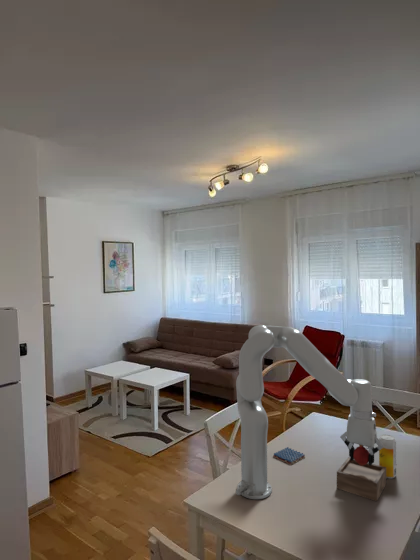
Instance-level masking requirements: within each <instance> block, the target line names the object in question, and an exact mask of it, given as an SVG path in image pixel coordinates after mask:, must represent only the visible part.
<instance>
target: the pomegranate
mask: <svg viewBox="0 0 420 560" xmlns="http://www.w3.org/2000/svg"><path fill="white" fill-rule="evenodd" d="M358 445H359V444H358ZM368 450H369V449H366V446H362V445H359V446H357V447H355V450H354V452H353V457H354V460H355V461H356V462H357V463H358V464H359V465H360V466H363V465H366V464H367V463H369V452H368Z"/></svg>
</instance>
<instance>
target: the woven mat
mask: <svg viewBox="0 0 420 560" xmlns="http://www.w3.org/2000/svg"><path fill="white" fill-rule="evenodd" d="M272 457H273V458H275V459H277V460H279V461H281V462H284V463H286V464H288V465H290V466H293V465H294V464H296V463H297V462H299V461H302V460H304V459H305V458H306V456H305V454H304V453H303V452H302V453H301V452H300V451H298V450H295V449H292V448H291V447H290V448H289V446H287V447H285V448H284V449H283V448H282V449H280V450H278V451H277V452H274V453H273V456H272Z"/></svg>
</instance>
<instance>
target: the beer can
mask: <svg viewBox="0 0 420 560" xmlns="http://www.w3.org/2000/svg"><path fill="white" fill-rule="evenodd" d="M378 439H379V441H380V442H381V443H382V444H383V445H384V447H383V448H382V449H380V450H379V451H378V465H379V466H383V467H386V479H390V480H391V479H394V478H395V477H396V476H397V441H396V438H395V437H394V436H393V435H390V434H380V436H379V438H378Z"/></svg>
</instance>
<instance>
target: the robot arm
mask: <svg viewBox="0 0 420 560" xmlns="http://www.w3.org/2000/svg"><path fill="white" fill-rule="evenodd" d="M247 338H248V339H246V341H245V342H244V343H243V344H242V346H241V348H240V350H239V355H238V373H239V374H238V375H237V377H236V381H235V389H236V401H237V412H238V415H239V419H240V422H241V423H240V426H241V433H240V453H241V455H240V456H241V459H240V460H241V461H240V462H241V465H240V466H241V471H240V472H241V480H240V482H238V484H237V486H236V487H237V489H235V494H236V496H241V497H245V498H246V499H250V500H262V499H265V498H268V497H269V496H271V495H272V489H273V488H272V487H273V486H272V485H271V483H269V481H268V430H269V417H268V414H267V412H266V410H265V408H264V407H263V405H262V397H263V396H264V391H265V384H264V378H263V377H264V376H263V358H264V356H265V355H266V353H268V352H269V351H270V350H271V349H272V348H284V349H285V350H286V351H287V353H289V354H290V356H291V357H292V358H294V359H295V361H296V362H298V364H299V365H300V366H301V367H302V368H303V369H304V370H305V372H307V373H308V374H309V375H310V376H312V378H314V379H315V380H316V381H318V382H319V383H320V384H321V385H322V386H323V387H324V388H325V389H326V390H327V391H328V393H329V395H330V396H332V398H333V399H335V400H336V401H338V403H340V404H341V405H342V406H345V407H350V408H349V409H350V411H349V412H350V413H349V414H348V418H347V423H346V431H345V432H344V433H342V434H341V435H340V439H341V440H342V441H343V442H344V444H345V446H346V447H347V449H348V456H349V457H350V460H353V459H354V457H353V452H354V450H355V449H356V447H354V446H355V444H356V445H363V447H366V446H367V448H368V449H367V450H369V452H370V453H369V462H368V463H369V465H370V466H371V465H372V464H375V454H376V453H379V450H380V449H382V448H383V447H384V445H383V444H382V443H381V442H380V441H379V438H378V435H377V434H378V433H377V432H378V431H377V425H376V420H375V418H376V417H377V413H376V412H373V399H372V397H373V395H372V393H373V392H372V391H373V386H372V383H371V381H369V380H367V379H361V378H355V379H348V378H346V377H345V376H344V375H343V374H342V373H341V372H340V371H339V370H338V369H337V367H335V366H334V364H332V363H331V362H330V360H329V359H328V358H327V357H326V356H325V355H324V354H323V353H321V351H320V350H318V348H317V347H316V346H315V345H314V344H313V343H312V342H311V341H310V340H309V339H308V338H307V337H306V336H305V335H304V334H303V333H302V332H301V331H300V330H298V329H296V328H294V327H292V326H281V325H279V326H278V325H266V324H265V325H263V324H259V325H255V326H253V327H251V328H250V330H249V332H248V337H247ZM374 417H375V418H374ZM375 444H376V445H377V446H375Z"/></svg>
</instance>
